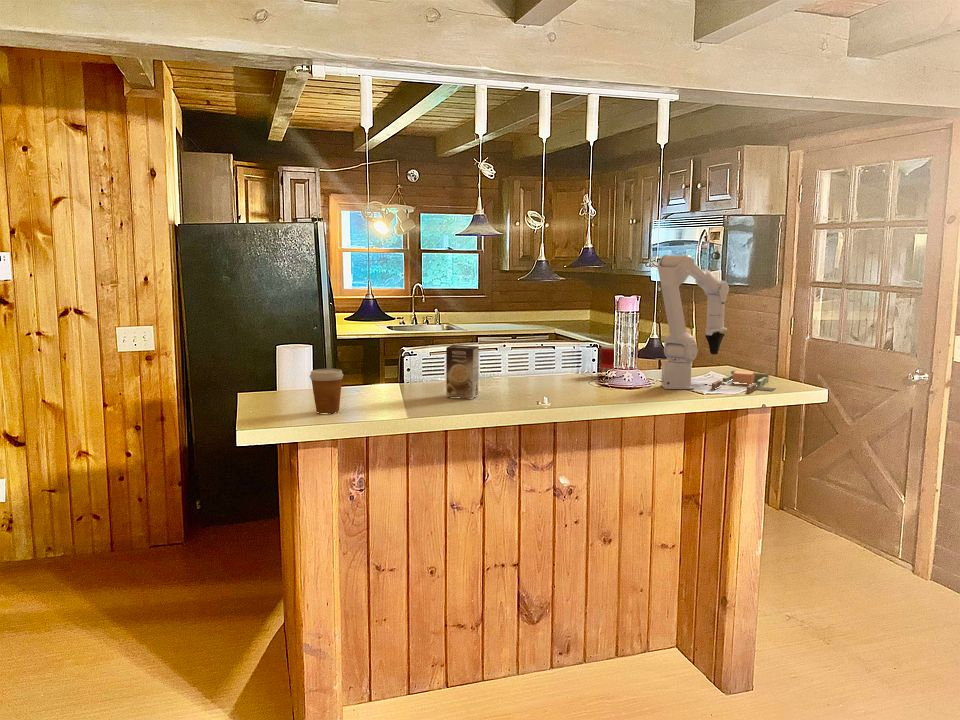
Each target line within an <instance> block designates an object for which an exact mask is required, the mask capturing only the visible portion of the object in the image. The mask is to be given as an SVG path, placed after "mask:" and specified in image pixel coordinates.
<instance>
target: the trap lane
mask: <svg viewBox="0 0 960 720" xmlns="http://www.w3.org/2000/svg"><path fill="white" fill-rule="evenodd" d="M736 371H737V370H731V372H730V374H728V375H726V376H724V377H722V380H716V381H715V382H713V383H712V386H711V387H710V388H711V389H715V388H717V387H719V386H720V385H722V386H723V384H722V382H727V381H729V380H731V379H733V373H734V372H736ZM769 376H770V375H769V373H764V372H755V379H754V381H757V382H755V383H754V384H751V385H746V394H752V393H753V392H755V391H757V390H756V389H757V388H759V387H764V386H765V385H766V384H768V383H769ZM756 385H757V386H758V387H756Z"/></svg>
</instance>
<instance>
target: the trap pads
mask: <svg viewBox="0 0 960 720" xmlns="http://www.w3.org/2000/svg"><path fill="white" fill-rule="evenodd" d="M776 389H777V388H776V387H765V386H762V387H756V390H755V391H764V392H774V391H775V390H776Z"/></svg>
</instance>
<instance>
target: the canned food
mask: <svg viewBox="0 0 960 720" xmlns="http://www.w3.org/2000/svg"><path fill="white" fill-rule="evenodd" d="M614 345H615V344H604V345H601V348H600V374H601V373H602V372H606V371H608V370H610V369H612V368H613V362H614Z"/></svg>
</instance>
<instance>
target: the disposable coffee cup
mask: <svg viewBox="0 0 960 720" xmlns="http://www.w3.org/2000/svg"><path fill="white" fill-rule="evenodd" d="M309 378H310V381H311V387H312V391H313V398H314V403H315V404H314V405H315V411H316V413H317V412H319V413H335V412H338V411H339V412H340V404H341V402H340V401H341V394H342V393H341V391H342V382H343V378H344V373H343V370H342V369H339V368H318V369H314V370H311V371H310V375H309ZM339 412H338V413H339ZM335 414H336V413H335Z"/></svg>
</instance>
